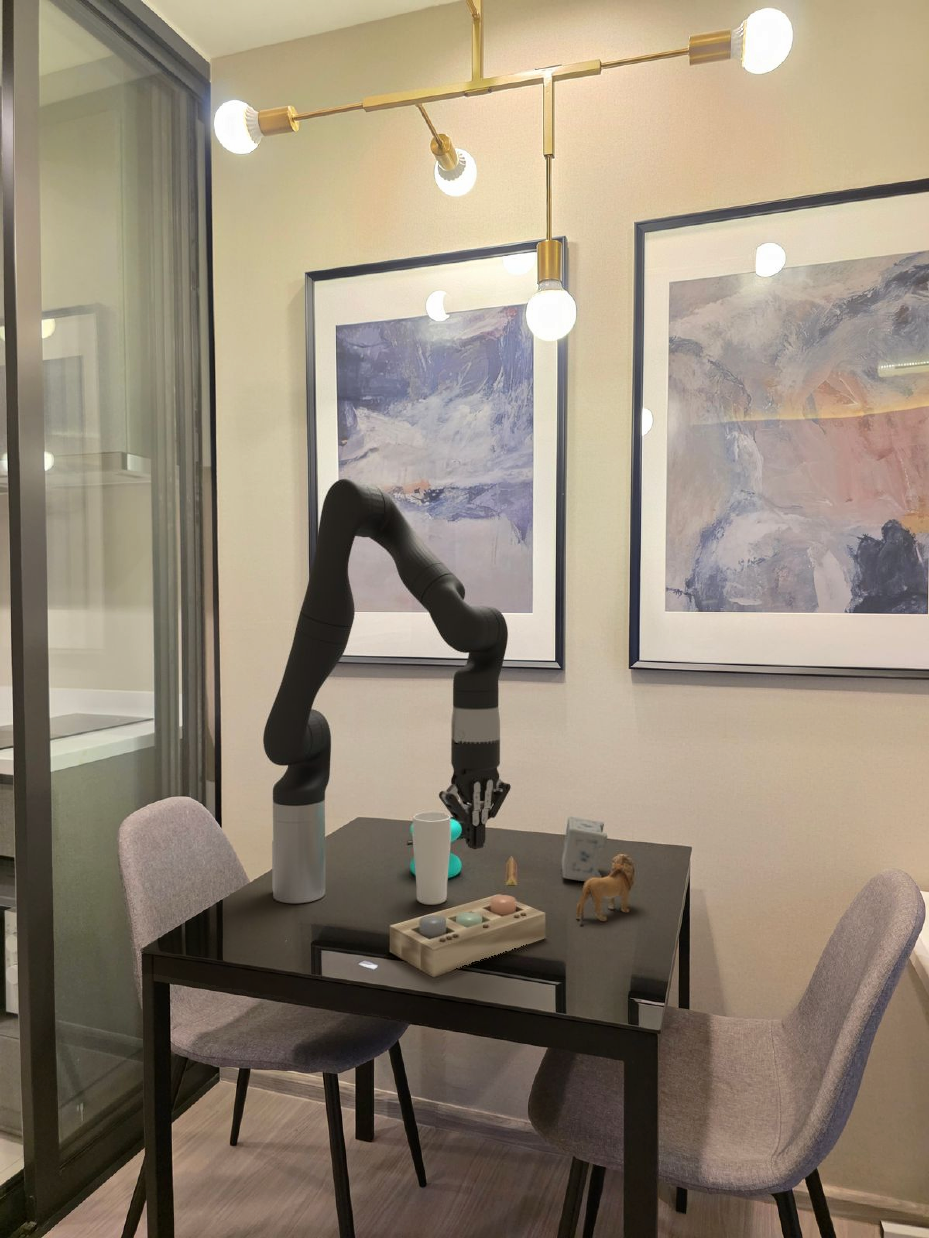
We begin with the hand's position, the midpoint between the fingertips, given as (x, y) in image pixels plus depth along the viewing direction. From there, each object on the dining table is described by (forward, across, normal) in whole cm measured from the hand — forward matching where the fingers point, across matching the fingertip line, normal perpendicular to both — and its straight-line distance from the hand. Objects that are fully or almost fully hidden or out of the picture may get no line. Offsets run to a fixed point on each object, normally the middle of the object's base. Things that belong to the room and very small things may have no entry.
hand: (475, 847), depth 132 cm
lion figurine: (+15, -26, +4) cm, 30 cm away
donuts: (+15, -15, -31) cm, 38 cm away
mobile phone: (+15, -29, -49) cm, 59 cm away
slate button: (+12, +8, 0) cm, 15 cm away
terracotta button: (+12, -6, 0) cm, 14 cm away
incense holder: (+15, -37, -12) cm, 41 cm away
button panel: (+15, +1, 0) cm, 15 cm away
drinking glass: (+15, -6, -19) cm, 25 cm away
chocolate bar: (+16, -26, -21) cm, 37 cm away
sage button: (+14, +1, 0) cm, 14 cm away
